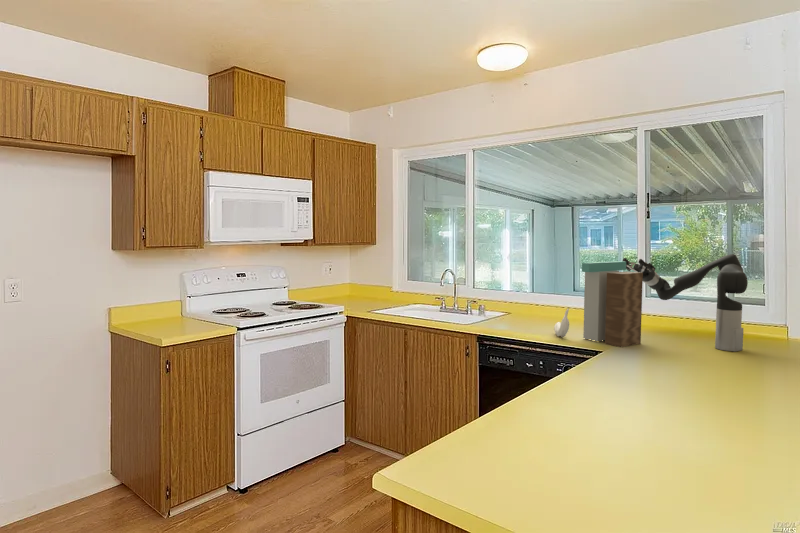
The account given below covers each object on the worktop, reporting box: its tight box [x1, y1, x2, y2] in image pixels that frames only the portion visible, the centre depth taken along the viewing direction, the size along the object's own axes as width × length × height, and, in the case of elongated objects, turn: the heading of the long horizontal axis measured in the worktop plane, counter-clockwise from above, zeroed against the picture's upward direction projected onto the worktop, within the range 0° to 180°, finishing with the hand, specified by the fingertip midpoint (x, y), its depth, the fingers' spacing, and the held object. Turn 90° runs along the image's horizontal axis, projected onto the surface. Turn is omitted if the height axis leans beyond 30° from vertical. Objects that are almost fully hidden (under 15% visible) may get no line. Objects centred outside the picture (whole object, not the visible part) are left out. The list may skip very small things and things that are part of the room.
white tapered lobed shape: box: [553, 308, 570, 338], centre depth 252 cm, size 5×19×15 cm, turn 179°
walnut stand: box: [604, 271, 644, 348], centre depth 235 cm, size 14×8×32 cm, turn 121°
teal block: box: [581, 260, 627, 273], centre depth 245 cm, size 26×4×4 cm, turn 121°
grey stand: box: [582, 270, 620, 342], centre depth 245 cm, size 14×8×32 cm, turn 121°
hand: (631, 259), depth 255 cm, fingers open, 8 cm apart
